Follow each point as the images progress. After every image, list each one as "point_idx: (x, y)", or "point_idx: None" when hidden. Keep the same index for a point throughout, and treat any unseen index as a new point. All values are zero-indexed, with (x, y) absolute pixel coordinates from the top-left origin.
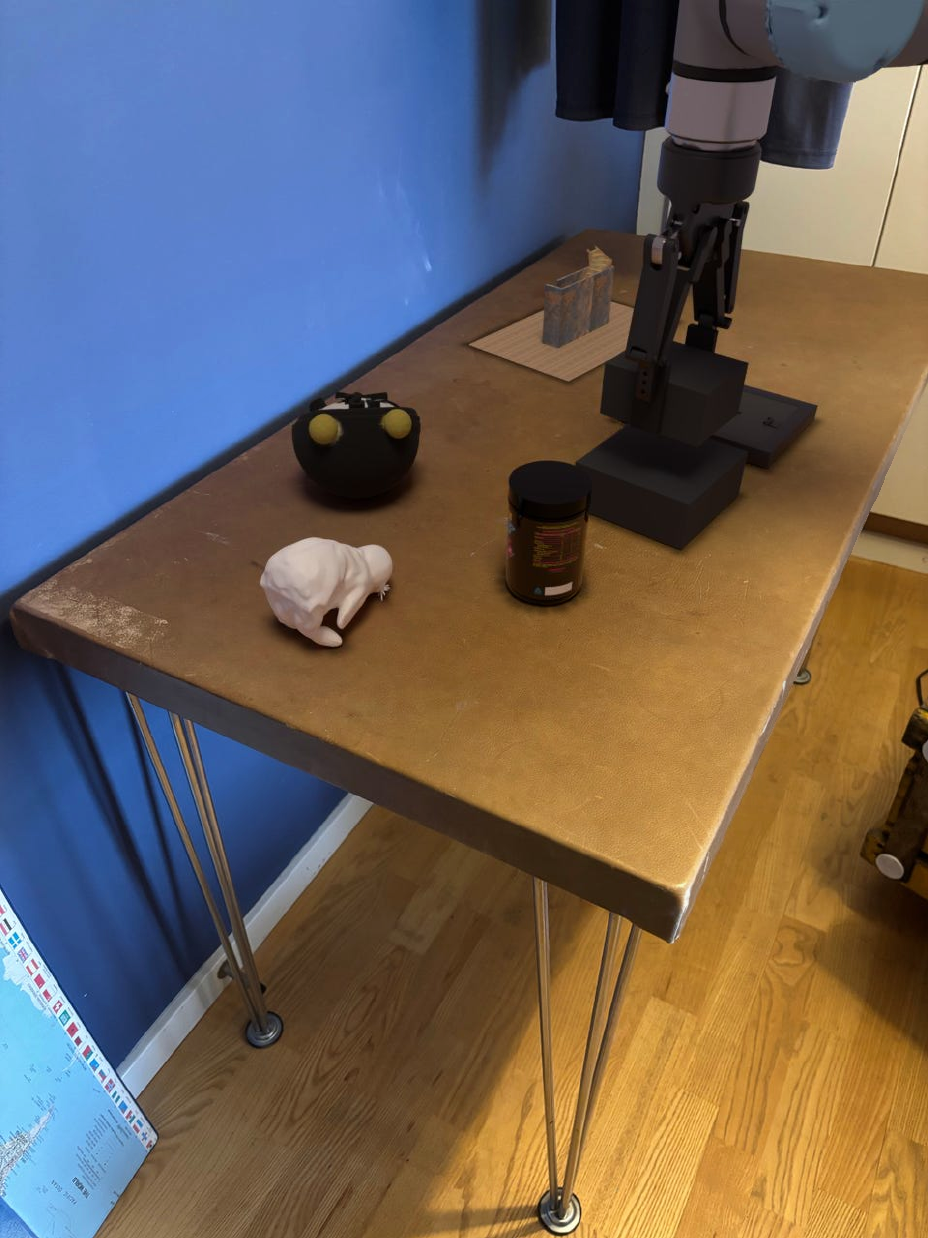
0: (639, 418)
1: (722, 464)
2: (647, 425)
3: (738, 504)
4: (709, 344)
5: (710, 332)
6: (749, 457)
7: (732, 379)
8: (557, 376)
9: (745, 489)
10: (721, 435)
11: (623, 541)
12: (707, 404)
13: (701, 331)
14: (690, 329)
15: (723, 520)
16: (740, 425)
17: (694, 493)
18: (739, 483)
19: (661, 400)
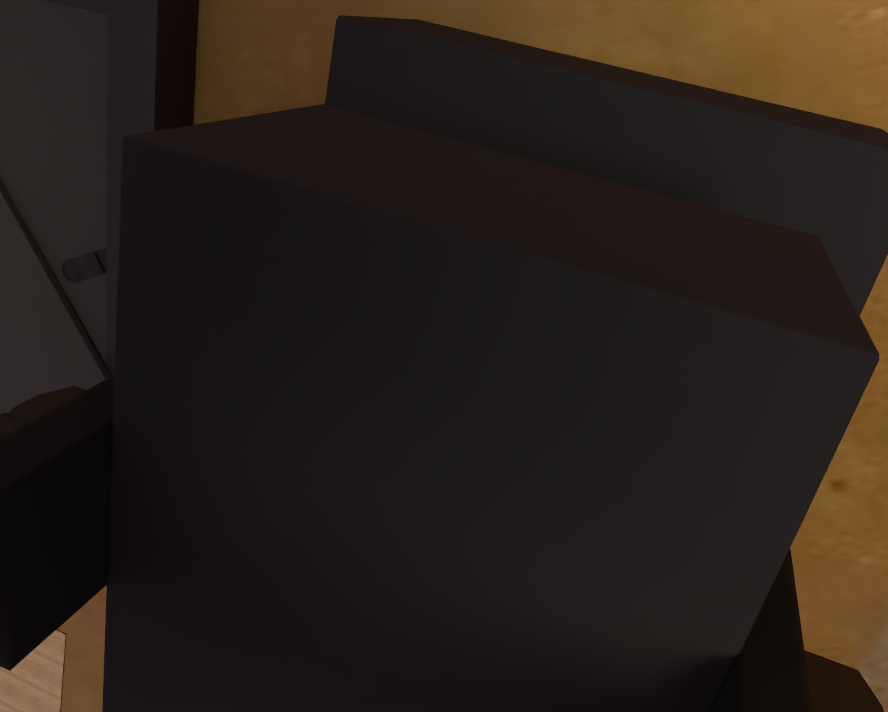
0: None
1: (497, 98)
2: None
3: (470, 3)
4: (81, 464)
5: (10, 518)
6: (183, 43)
7: (398, 202)
8: (58, 662)
9: (361, 6)
10: None
11: (880, 339)
12: (823, 307)
13: (20, 571)
14: (27, 634)
15: (603, 28)
16: (45, 122)
17: (812, 158)
18: (411, 22)
19: (797, 603)
